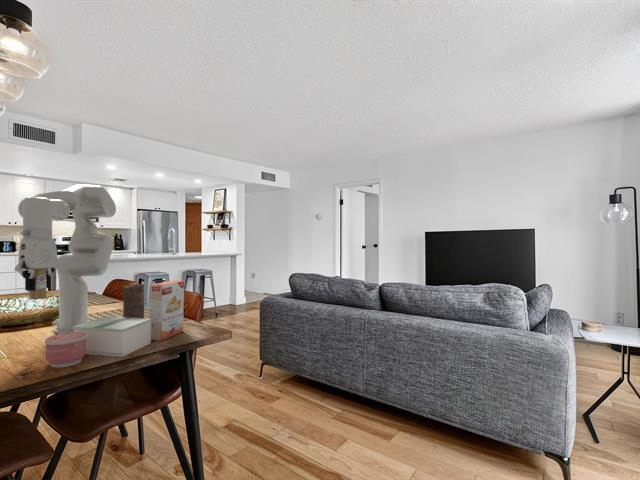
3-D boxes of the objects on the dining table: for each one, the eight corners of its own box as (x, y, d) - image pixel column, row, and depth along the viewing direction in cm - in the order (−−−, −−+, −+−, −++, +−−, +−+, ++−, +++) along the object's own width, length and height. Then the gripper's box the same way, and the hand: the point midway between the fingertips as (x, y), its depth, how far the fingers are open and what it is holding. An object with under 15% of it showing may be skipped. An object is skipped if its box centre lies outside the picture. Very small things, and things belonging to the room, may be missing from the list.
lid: (72, 329, 113) (72, 326, 113) (106, 318, 128) (106, 316, 128) (122, 332, 110) (122, 329, 110) (151, 321, 125) (151, 318, 125)
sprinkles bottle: (37, 299, 112) (37, 258, 112) (25, 299, 113) (25, 258, 113) (50, 297, 117) (50, 257, 117) (38, 296, 118) (38, 257, 117)
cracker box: (162, 341, 127) (162, 285, 127) (147, 340, 128) (148, 284, 128) (184, 331, 141) (184, 280, 141) (171, 330, 142) (171, 280, 142)
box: (73, 353, 114) (73, 329, 114) (106, 340, 128) (106, 319, 127) (122, 356, 111) (122, 331, 111) (150, 343, 125) (150, 321, 125)
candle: (140, 337, 131) (140, 285, 131) (119, 338, 130) (119, 285, 130) (146, 332, 139) (147, 283, 139) (127, 333, 138) (127, 283, 138)
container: (81, 354, 113) (81, 330, 113) (91, 362, 106) (91, 336, 106) (41, 363, 105) (41, 336, 105) (49, 372, 98) (49, 344, 98)
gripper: (21, 234, 106) (21, 293, 106) (69, 234, 122) (69, 286, 123) (1, 234, 107) (1, 293, 107) (51, 234, 123) (51, 285, 124)
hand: (37, 288), depth 115 cm, fingers closed on sprinkles bottle, 4 cm apart
